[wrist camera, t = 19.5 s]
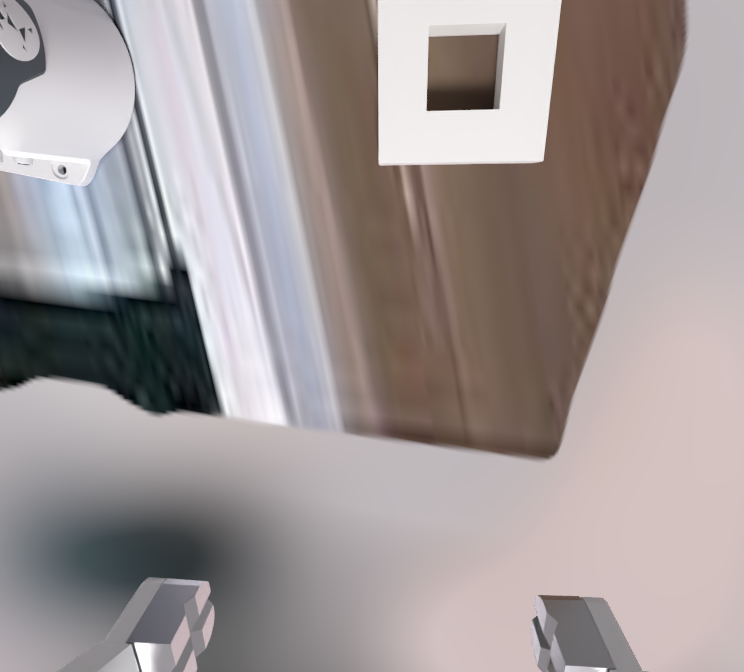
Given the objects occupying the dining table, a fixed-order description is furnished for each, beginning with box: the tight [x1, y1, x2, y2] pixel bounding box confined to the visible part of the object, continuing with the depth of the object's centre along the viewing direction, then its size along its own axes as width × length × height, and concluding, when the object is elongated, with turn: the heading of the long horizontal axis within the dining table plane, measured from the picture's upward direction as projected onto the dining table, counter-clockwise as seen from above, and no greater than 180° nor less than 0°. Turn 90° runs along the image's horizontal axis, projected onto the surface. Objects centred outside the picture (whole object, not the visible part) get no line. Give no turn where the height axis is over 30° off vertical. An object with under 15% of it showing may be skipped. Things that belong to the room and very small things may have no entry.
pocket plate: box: [378, 0, 561, 165], centre depth 35 cm, size 14×14×2 cm
